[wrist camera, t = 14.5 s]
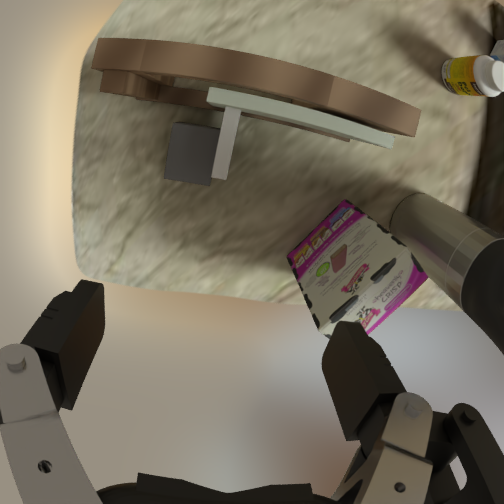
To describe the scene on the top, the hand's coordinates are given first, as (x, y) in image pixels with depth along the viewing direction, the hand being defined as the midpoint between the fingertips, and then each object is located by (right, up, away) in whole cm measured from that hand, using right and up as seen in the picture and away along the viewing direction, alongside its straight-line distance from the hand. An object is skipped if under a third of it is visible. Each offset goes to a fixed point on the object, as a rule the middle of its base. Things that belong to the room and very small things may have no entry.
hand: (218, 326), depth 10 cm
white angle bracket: (+4, +15, +26) cm, 30 cm away
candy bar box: (+11, +4, +32) cm, 34 cm away
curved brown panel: (+1, +20, +24) cm, 32 cm away
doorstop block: (-5, +15, +26) cm, 30 cm away
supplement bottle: (+30, +27, +24) cm, 47 cm away
